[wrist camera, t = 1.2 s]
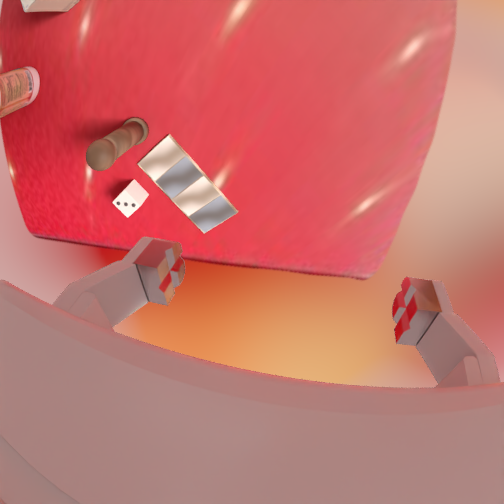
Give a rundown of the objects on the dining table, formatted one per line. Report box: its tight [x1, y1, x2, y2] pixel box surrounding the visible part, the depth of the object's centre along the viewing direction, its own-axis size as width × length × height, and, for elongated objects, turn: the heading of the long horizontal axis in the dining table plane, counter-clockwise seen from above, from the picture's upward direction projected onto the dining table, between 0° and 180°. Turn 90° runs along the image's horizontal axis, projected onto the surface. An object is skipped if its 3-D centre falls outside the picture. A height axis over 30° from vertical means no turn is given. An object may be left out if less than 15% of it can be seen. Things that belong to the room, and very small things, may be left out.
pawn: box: [86, 117, 149, 171], centre depth 38 cm, size 5×5×15 cm
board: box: [138, 134, 238, 233], centre depth 50 cm, size 20×9×1 cm, turn 36°
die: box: [112, 179, 149, 218], centre depth 50 cm, size 5×5×5 cm
